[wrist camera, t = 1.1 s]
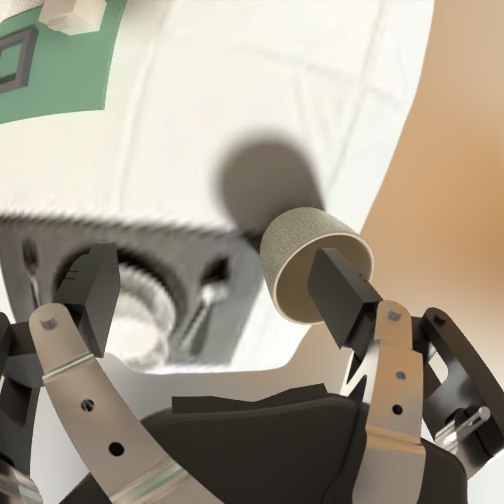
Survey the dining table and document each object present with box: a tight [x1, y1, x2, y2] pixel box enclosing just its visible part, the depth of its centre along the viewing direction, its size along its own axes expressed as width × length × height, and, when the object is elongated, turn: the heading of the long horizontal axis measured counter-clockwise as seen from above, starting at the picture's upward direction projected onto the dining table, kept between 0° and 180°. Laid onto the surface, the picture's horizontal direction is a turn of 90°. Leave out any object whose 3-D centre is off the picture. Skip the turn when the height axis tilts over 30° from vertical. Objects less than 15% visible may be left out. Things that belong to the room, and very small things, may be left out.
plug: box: [38, 0, 107, 36], centre depth 13 cm, size 5×4×8 cm
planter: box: [260, 207, 374, 325], centre depth 33 cm, size 12×12×11 cm
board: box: [0, 0, 126, 124], centre depth 16 cm, size 16×20×3 cm
